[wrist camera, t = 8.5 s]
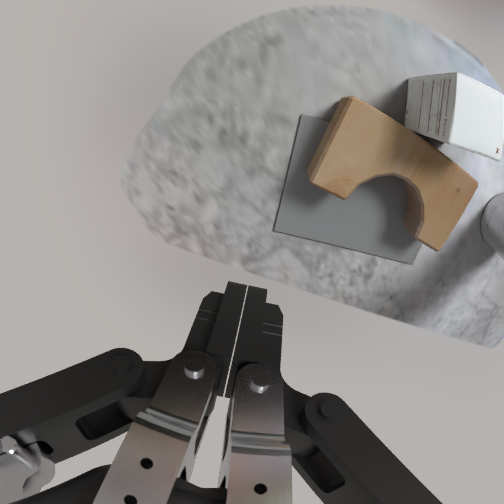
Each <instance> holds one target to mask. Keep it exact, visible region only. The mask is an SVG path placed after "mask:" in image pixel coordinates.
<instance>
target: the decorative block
mask: <svg viewBox="0 0 504 504" xmlns="http://www.w3.org/2000/svg"><path fill="white" fill-rule="evenodd" d="M307 173H308V177H309V181H310V184H311V185H313V186H315V187H317V188H320V189H322V190H324V191H326V192H328V193H330V194H332V195H334V196H336V197H338V198H340V199H342V200H346V199H348V198H349V197H350V196H351V194H352V193H353V192H354V191H355V190H356V188H357V187H358V186H359V185H361V184H363V183H365V182H367V181H369V180H371V179H373V178H375V177H380V176H387V175H394V176H397V177H399V178H402V180H403V183H404V186H405V188H406V191H407V205H408V207H407V210H406V212H405V215H404V218H403V220H402V221H403V223H404V225H405V226H406V227H407V229H408V230H409V231H410V232H411V234H412V235H413V236H414V238H415V239H416V240H418V241H420V242H421V243H423V244H425V245H426V246H428V247H430V248H431V249H433V250H435V251H439V250H440V249H441V247H442V246H443V244H444V243H445V241H446V240H447V238H448V237H449V235H450V233H451V232H452V230H453V229H454V227H455V225H456V224H457V222H458V220H459V219H460V217H461V215H462V214H463V212H464V210H465V209H466V207H467V205H468V203H469V202H470V200H471V198H472V196H473V194H474V193H475V191H476V189H477V187H478V182H477V181H476V180H475V179H473V178H472V177H471V176H470V175H469V174H468V173H466V172H465V171H464V170H463V169H462V168H460V167H459V166H458V165H457V164H456V163H454V162H453V161H452V160H451V159H449V158H448V157H447V156H446V155H444V154H443V153H442V152H440V151H439V150H438V149H436V148H435V147H434V146H432V145H431V144H430V143H428V142H427V141H425V140H424V139H423V138H421V137H420V136H418V135H417V134H415V133H414V132H412V131H411V130H409V129H408V128H406V127H405V126H403V125H402V124H400V123H399V122H397V121H396V120H394V119H392V118H391V117H389V116H388V115H386V114H384V113H383V112H381V111H379V110H378V109H376V108H374V107H372V106H371V105H369V104H367V103H365V102H364V101H362V100H360V99H358V98H356V97H354V96H350V97H343V98H341V100H340V102H339V104H338V106H337V108H336V110H335V112H334V115H333V117H332V119H331V121H330V123H329V125H328V127H327V129H326V131H325V133H324V136H323V138H322V140H321V142H320V144H319V146H318V148H317V150H316V152H315V154H314V156H313V158H312V160H311V162H310V164H309V167H308V169H307Z"/></svg>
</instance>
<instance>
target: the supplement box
mask: <svg viewBox="0 0 504 504" xmlns="http://www.w3.org/2000/svg"><path fill="white" fill-rule="evenodd" d="M404 126H405V127H406V128H408V129H409V130H411V131H412V132H414V133H417V134H421V135H424V136H427V137H430V138H433V139H436V140H439V141H442V142H444V143H447V144H450V145H453V146H456V147H459V148H462V149H465V150H468V151H471V152H474V153H477V154H480V155H483V156H486V157H488V158H491V159H494V160H496V161H500V158H501V154H502V148H503V142H504V95H503V94H502V93H500V92H498V91H496V90H494V89H492V88H490V87H488V86H487V85H484V84H482V83H480V82H478V81H476V80H474V79H472V78H470V77H467V76H465V75H463V74H460V73H458V72H455V73H444V74H434V75H426V76H418V77H412V78H409V81H408V93H407V104H406V113H405V122H404Z"/></svg>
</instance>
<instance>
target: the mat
mask: <svg viewBox="0 0 504 504" xmlns="http://www.w3.org/2000/svg"><path fill="white" fill-rule="evenodd" d="M329 123H330V122H329V121H325V120H322V119H318V118H314V117H310V116H306V115H301V120H300V124H299V128H298V133H297V137H296V141H295V145H294V150H293V154H292V158H291V162H290V167H289V171H288V175H287V179H286V183H285V187H284V192H283V196H282V200H281V204H280V208H279V212H278V216H277V220H276V224H275V228H274V231H278V232H282V233H287V234H291V235H295V236H299V237H304V238H308V239H312V240H316V241H321V242H325V243H329V244H333V245H337V246H341V247H345V248H349V249H353V250H357V251H361V252H365V253H369V254H373V255H377V256H381V257H385V258H389V259H393V260H397V261H400V262H404V263H408V264H412V265H413V262H414V260H415V258H416V256H417V254H418V252H419V250H420V248H421V245H422V243H421V242H420V241H418V240H416V239H415V238H414V236H413V235H412V234H411V232H410V231H409V230H408V229H407V227H406V226H405V225H404V223H403V221H402V220H403V218H404V215H405V212H406V210H407V207H408V205H407V191H406V188H405V186H404V183H403V180H402V178H399V177H397V176H394V175H387V176H380V177H375V178H373V179H371V180H369V181H367V182H365V183H363V184H361V185H359V186H358V187H357V188H356V190H355V191H354V192H353V193H352V194H351V196H350V197H349V198H348V199H346V200H342V199H340V198H338V197H336V196H334V195H332V194H330V193H328V192H326V191H324V190H322V189H320V188H317V187H315V186H313V185H311V184H310V181H309V177H308V173H307V169H308V167H309V164H310V162H311V160H312V158H313V156H314V154H315V152H316V150H317V148H318V146H319V144H320V142H321V140H322V138H323V136H324V133H325V131H326V129H327V127H328V125H329Z"/></svg>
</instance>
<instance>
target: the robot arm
mask: <svg viewBox="0 0 504 504" xmlns="http://www.w3.org/2000/svg"><path fill="white" fill-rule="evenodd" d="M481 233H482V236H483V238H484V240H485V241H486V242H487V243H488V244H489V245H490V246H491V247H492V248H493V249H494V250H495V251H496V252H497V253H498V254H499V255H500V256H501V257H502V258H503V259H504V193H502V194H499V195H497V196H495V197H494V198H493V199H492V200H491V201H490V202H489V203H488V205H487V206H486V208H485V210H484V213H483V216H482V220H481ZM246 288H247V285H244V284H239V283H234V282H230V281H229V282H228V284H227V287H226V290H225V293H224V294H223V293H218V292H213V291H212V292H210V293H209V294H208V295H207V296H206V297H205V298H203V300H202V303H201V305H200V308H199V310H198V313H197V315H196V318H195V320H194V323H193V326H192V328H191V331H190V333H189V336H188V338H187V341H186V343H185V346H184V348H183V350H182V351H181V352H180V353H178V354H177V355H176V356H175V357H174V358H172V359H170V360H166V361H143V360H142V358H141V357H140V356H139V354H137V353H136V352H134V351H133V350H130V349H127V348H116V349H112V350H110V351H107V352H105V353H103V354H100V355H98V356H96V357H93V358H91V359H88V360H86V361H84V362H81V363H78V364H76V365H74V366H71V367H69V368H66V369H64V370H61V371H59V372H56V373H54V374H51V375H48V376H46V377H44V378H41V379H38V380H36V381H33V382H30V383H28V384H25V385H23V386H20V387H17V388H15V389H12V390H9V391H7V392H4V393H1V394H0V504H292V465H293V467H294V468H295V469H296V470H297V472H298V473H299V474H300V475H301V477H302V478H303V479H304V480H305V481H306V483H307V484H308V485H309V486H310V487H311V489H312V490H313V491H314V492H315V494H316V495H317V496H318V497H319V498H320V499H321V501H322V502H323V503H324V504H442V503H441V502H440V501H439V500H438V499H437V498H436V497H435V496H434V495H433V494H432V493H431V492H430V491H429V490H428V489H427V488H426V487H425V486H424V485H423V484H422V483H421V482H420V481H419V480H418V479H417V478H416V477H415V476H414V475H413V474H412V473H411V472H410V471H409V470H408V469H407V468H406V467H405V466H404V465H403V464H402V463H401V461H400V460H399V459H398V458H397V457H396V456H395V455H394V454H393V453H392V452H391V451H390V450H389V449H388V448H387V447H386V446H385V445H384V444H383V443H382V442H381V441H380V439H379V438H377V436H376V435H375V434H374V433H373V432H372V431H371V430H370V429H369V428H368V427H367V426H366V425H365V423H364V422H363V421H362V420H361V419H360V418H359V417H358V416H357V415H356V414H355V413H354V412H353V410H352V409H351V408H350V407H349V406H348V405H347V404H346V403H345V402H344V401H343V400H342V399H341V398H339V397H338V396H336V395H334V394H331V393H318V394H316V395H313V396H312V397H310V396H307V395H305V394H302V393H300V392H298V391H296V390H294V389H293V388H291V387H290V386H289V385H287V383H285V381H284V379H283V378H282V376H281V372H280V362H281V346H282V326H283V314H282V312H281V310H280V308H279V306H278V305H275V304H269V303H266V297H267V289H263V288H259V287H253V286H249V287H248V291H247V296H246V300H245V305H244V310H243V315H242V319H241V324H240V329H239V333H238V338H237V342H236V347H235V351H234V356H233V361H232V366H231V370H230V374H229V379H228V384H227V388H226V393H225V397H227V398H230V402H229V408H228V412H227V416H226V424H225V431H224V441H223V449H222V450H223V451H222V458H221V466H220V472H219V478H218V486H217V488H200V487H198V486H196V485H193V484H191V483H189V480H190V477H191V474H192V471H193V467H194V463H195V459H196V456H197V453H198V450H199V447H200V444H201V442H202V439H203V436H204V433H205V430H206V427H207V424H208V421H209V418H210V415H211V412H212V411H213V409H214V405H215V401H216V397H217V396H222V397H223V393H224V388H225V384H226V379H227V375H228V371H229V366H230V362H231V357H232V352H233V348H234V344H235V339H236V334H237V330H238V325H239V321H240V316H241V312H242V307H243V302H244V297H245V293H246ZM127 431H128V432H127ZM125 432H127V434H126V436H125V439H124V440H123V442H122V445H121V446H120V448H119V450H118V452H117V454H116V457H115V458H114V460H113V462H112V464H110V465H104V466H100V467H97V468H94V469H92V470H90V471H88V472H86V473H83V474H81V475H79V476H77V477H75V478H73V479H70V480H68V481H66V482H64V483H61V484H59V485H57V486H55V487H52V488H50V489H47V490H45V491H42V492H40V490H41V488H42V487H43V486H44V485H46V484H48V483H49V482H50V481H51V480H52V479H53V477H54V474H55V465H54V464H55V463H58V462H60V461H63V460H65V459H68V458H70V457H73V456H75V455H78V454H80V453H82V452H84V451H87V450H89V449H91V448H93V447H96V446H98V445H100V444H102V443H104V442H107V441H109V440H110V439H113V438H115V437H117V436H119V435H121V434H123V433H125ZM39 492H40V493H39Z"/></svg>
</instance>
